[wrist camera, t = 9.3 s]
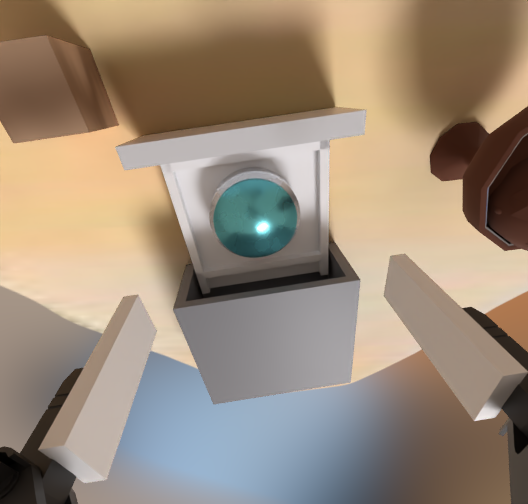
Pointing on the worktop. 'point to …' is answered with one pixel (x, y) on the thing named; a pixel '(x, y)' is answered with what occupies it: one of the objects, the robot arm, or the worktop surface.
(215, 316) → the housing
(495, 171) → the ice cream bowl
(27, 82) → the block
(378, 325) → the worktop surface
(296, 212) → the disc
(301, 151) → the tray
